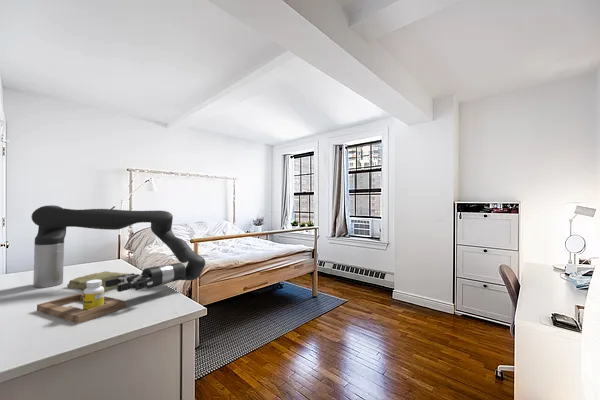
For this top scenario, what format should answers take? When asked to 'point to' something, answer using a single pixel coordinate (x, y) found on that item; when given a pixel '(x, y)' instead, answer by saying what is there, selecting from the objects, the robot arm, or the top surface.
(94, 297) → the supplement bottle
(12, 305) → the top surface
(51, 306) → the keyhole board
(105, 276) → the decorative tile
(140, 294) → the top surface
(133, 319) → the top surface
